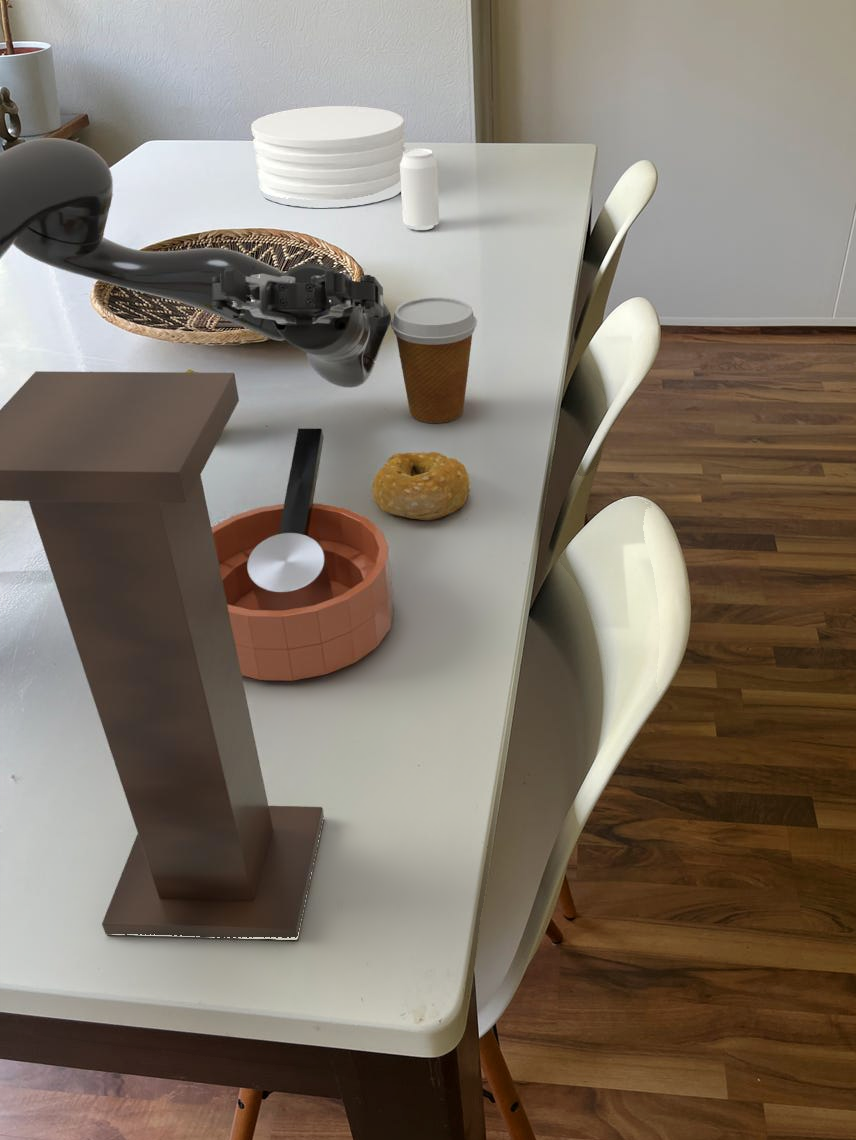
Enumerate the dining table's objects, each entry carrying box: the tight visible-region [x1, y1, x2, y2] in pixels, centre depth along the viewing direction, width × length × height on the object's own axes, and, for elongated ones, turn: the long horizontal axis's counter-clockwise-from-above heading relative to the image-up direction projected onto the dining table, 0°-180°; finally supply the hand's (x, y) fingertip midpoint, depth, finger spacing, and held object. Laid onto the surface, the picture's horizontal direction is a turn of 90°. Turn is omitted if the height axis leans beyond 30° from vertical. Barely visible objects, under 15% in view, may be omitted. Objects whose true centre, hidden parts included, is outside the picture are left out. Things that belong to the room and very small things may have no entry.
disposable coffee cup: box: [390, 296, 478, 424], centre depth 116 cm, size 10×10×12 cm
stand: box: [0, 370, 325, 938], centre depth 57 cm, size 12×10×32 cm
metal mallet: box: [247, 427, 333, 611], centre depth 90 cm, size 6×19×5 cm, turn 178°
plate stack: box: [250, 105, 406, 201], centre depth 192 cm, size 28×28×12 cm
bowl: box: [211, 502, 395, 682], centre depth 86 cm, size 17×17×7 cm
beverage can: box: [400, 148, 440, 227], centre depth 172 cm, size 6×6×12 cm
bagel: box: [371, 451, 471, 521], centre depth 102 cm, size 10×11×5 cm
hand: (278, 281), depth 80 cm, fingers open, 7 cm apart
